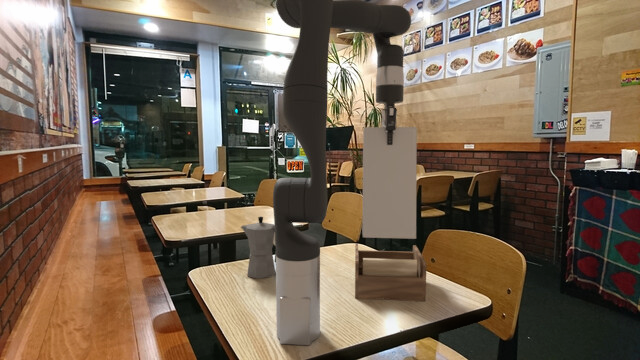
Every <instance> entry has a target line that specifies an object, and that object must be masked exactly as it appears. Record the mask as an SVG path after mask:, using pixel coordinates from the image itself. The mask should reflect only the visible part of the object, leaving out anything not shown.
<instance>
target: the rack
mask: <svg viewBox="0 0 640 360" xmlns="http://www.w3.org/2000/svg"><path fill="white" fill-rule="evenodd" d="M354 245H355V246H354V247H355V250H354V251H355V254H354V255H355V257H354V259H355V260H354V261H355V263H354V267H355V269H354V288H355V289H354V298H355V299H361V300H362V299H365V300H370V299H371V300H386V301H387V300H390V301H410V302H411V301H412V302H413V301H414V302H426V297H427V296H426V293H427V292H426V290H427V267H428V266H427V264H428V263H427V262H426V260H425V258H424V256H423V255H422V253H421V252H420V250H419V248H418V247H417V245H416V244H415V245H412V251H403V250H401V251H399V250H398V251H395V250H388V251H387V250H366V249H365V250H364V249H362V250H361V249H359V243H354ZM363 258H380V259H412V260H417V277H400V276H372V275H363Z"/></svg>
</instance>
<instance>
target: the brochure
mask: <svg viewBox="0 0 640 360" xmlns="http://www.w3.org/2000/svg"><path fill="white" fill-rule="evenodd" d="M362 131H363V133H362V134H363V136H362V137H363V138H362V139H363V142H362V146H363V147H362V218H361V219H362V221H361V222H362V224H361V226H362V230H361V231H362V232H361V234H362V238H370V239H371V238H374V239H375V238H377V239H408V240H410V239H411V240H415V239H417V169H418V168H417V162H418V161H417V157H418V155H417V152H418V151H417V149H418V148H417V147H418V146H417V145H418V144H417V142H418V141H417V140H418V138H417V137H418V133H417V132H418V128H417V127H416V126H396V129H395V133H394V134H393V139H392V140H393V145H387V133H385V127H383V126H377V127H376V126H365V127H363V130H362ZM389 142H390V141H389Z"/></svg>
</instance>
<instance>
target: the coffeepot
mask: <svg viewBox="0 0 640 360" xmlns="http://www.w3.org/2000/svg"><path fill="white" fill-rule="evenodd" d="M257 220H258V222H256V223H250V224H245V225H241V226H240V229H242V231H243V232H244V233H245V236H246V237H247V241H248V247H249V252H250V253H249V257H248V266H247V277H248V278H252V279H257V280H258V279H262V280H263V279H268V278H271V277H273V276H274V275H275V276H276V265H275V262H274V261H275V259H274V255H273V248H274V243H273V241H274V233H275V224H273V223H268V222H264V221H263V220H264V217H263V216H258V217H257Z"/></svg>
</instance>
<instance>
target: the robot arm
mask: <svg viewBox="0 0 640 360" xmlns="http://www.w3.org/2000/svg"><path fill="white" fill-rule="evenodd" d="M275 7H276V11H277V14H278V16H279V17H280V19H281V20H282V22H283V23H285V25H287V26H289V27H291V28H294V29H299V35H298V41H297V44H296V47H295V49H294V51H293V52H294V53H293V54H292V57H291V59H290V61H289V65H288V67H287V70H286V71H285V72H286V73H285V76H284V80H283V88H282V90H283V91H282V93H283V94H282V113H283V117H284V120H285V122H286V124H287V125H288V127H289V129H290V131H291V132H292V134H293V135H294V136H295V139H296V140H297V141H298V143H299V145H300V147H301V149H302V151H303V152H304V155H305V157H306V159H307V162H308V166H309V169H310V177H281V178H278V179H277V180H276V182H274V186H273V189H272V190H273V191H272V192H273V193H272V206H273V221H274V225H275V245H276V246H275V245H274V246H275V252H276V263H275V272H276V274H275V296H276V297H275V299H276V300H275V303H276V306H275V307H276V308H275V309H276V310H275V311H276V314H275V315H276V337H277V338H278V340H279V343H280V344H281V345H300V346H301V345H302V346H310V345H311V344H312V343H313V342H314V341H316V340H317V339H318V338H319V337H320V335H321V243H320V241H319V240H318V239H317V238H315V237H314V236H311V235H309V234H306V233H304V232H302V231H300V230H299V229H298V228H296V226H295V225H294V223H295V224H296V223H297V224H306V223H307V224H319V223H323V222H324V220H325V218H326V216H327V211H328V181H327V179H328V178H327V177H328V176H327V155H326V154H327V150H326V147H327V146H326V145H327V123H328V122H327V121H328V120H327V119H328V117H327V116H328V95H329V94H328V93H329V92H328V91H329V90H328V70H329V69H328V68H329V67H328V66H329V65H328V64H329V46H330V38H331V37H330V34H331V29H342V30H350V31H354V32H359V33H364V34H372V37H373V40H374V45H375V49H376V54H377V61H376V63H377V65H376V66H377V67H376V75H375V102H376V103H377V104H379V105H384V107H383V108H382V110H381V118H382V119H381V127H385V133H387V145H393V140H392V139H393V134H394V133H395V129H396V127H397V126H396V125H397V115H398V109H397V107H396V106H395V104H401V103H403V102H404V92H405V91H404V88H405V87H404V86H405V85H404V84H405V76H404V75H405V74H404V48H403V46H401V45H399V44H393V43H391V38H394V37H399V36H402V35H404V34H406V33H407V32H408V31H409V30H410V28H411V26H412V15H411V14H410V12H409V10H407V8H405V7H404V6H402V5H397V4H396V5H395V4H377V3H373V2H371V1H367V0H275ZM389 141H390V142H389Z"/></svg>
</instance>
